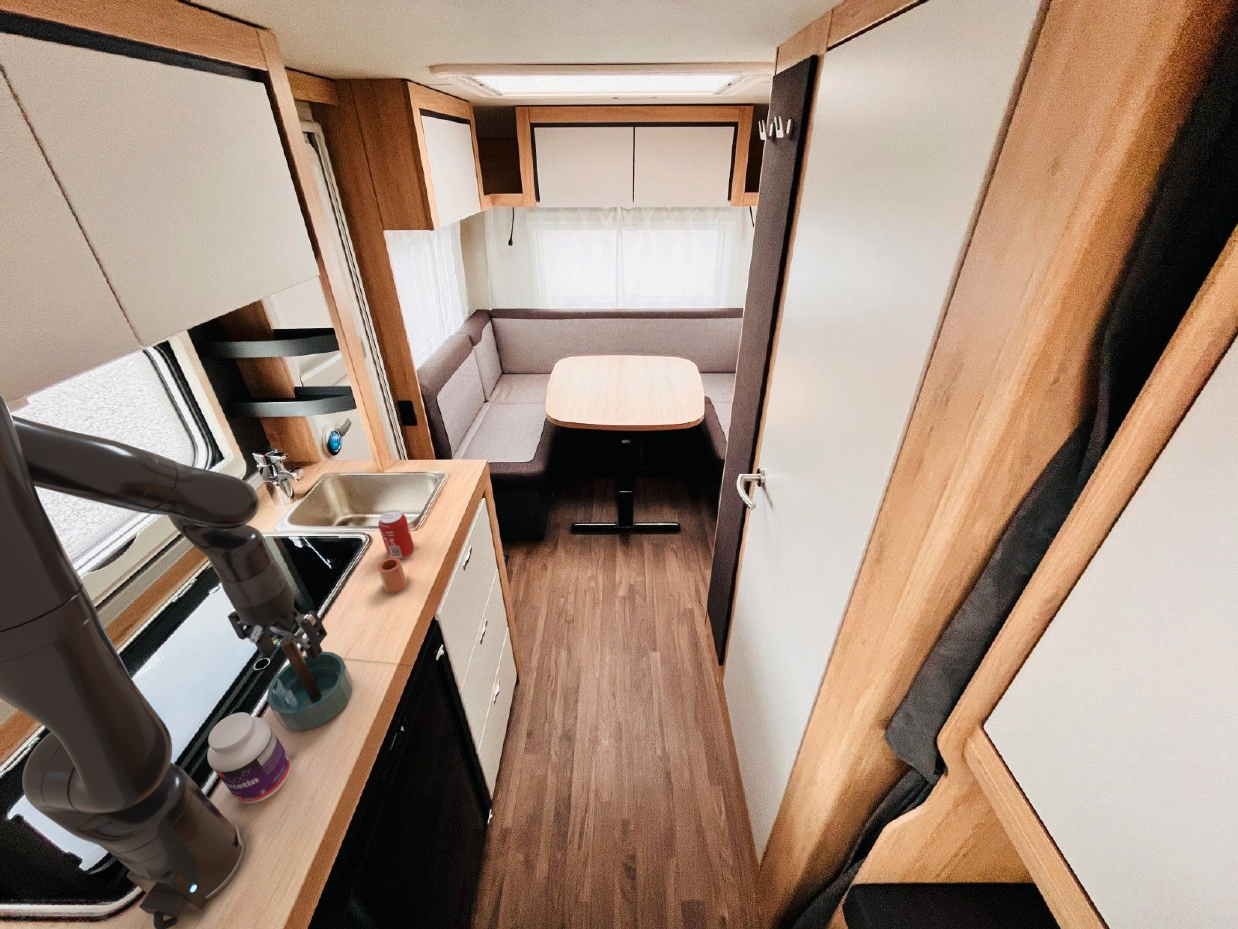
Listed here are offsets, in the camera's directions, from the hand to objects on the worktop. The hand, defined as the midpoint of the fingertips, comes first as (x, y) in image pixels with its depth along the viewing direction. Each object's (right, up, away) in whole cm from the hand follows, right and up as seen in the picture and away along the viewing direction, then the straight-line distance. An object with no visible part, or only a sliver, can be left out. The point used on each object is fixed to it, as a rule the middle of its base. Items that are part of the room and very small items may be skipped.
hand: (293, 654), depth 87 cm
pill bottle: (-2, -19, -4) cm, 19 cm away
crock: (+4, +4, +31) cm, 32 cm away
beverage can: (+1, +10, +41) cm, 42 cm away
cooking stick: (0, -10, +7) cm, 13 cm away
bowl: (0, -11, +7) cm, 13 cm away
